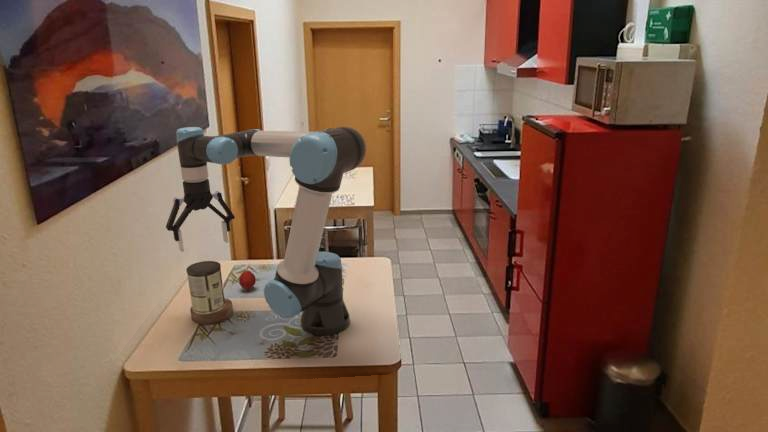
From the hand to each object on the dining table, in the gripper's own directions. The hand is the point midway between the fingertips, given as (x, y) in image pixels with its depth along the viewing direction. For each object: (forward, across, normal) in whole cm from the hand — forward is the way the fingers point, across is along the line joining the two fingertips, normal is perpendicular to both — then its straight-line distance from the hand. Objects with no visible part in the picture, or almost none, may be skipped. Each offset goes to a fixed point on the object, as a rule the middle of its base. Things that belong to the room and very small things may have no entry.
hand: (204, 245), depth 165 cm
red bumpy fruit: (+24, -16, -12) cm, 31 cm away
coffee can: (+21, +1, 0) cm, 21 cm away
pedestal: (+24, 0, 0) cm, 24 cm away
